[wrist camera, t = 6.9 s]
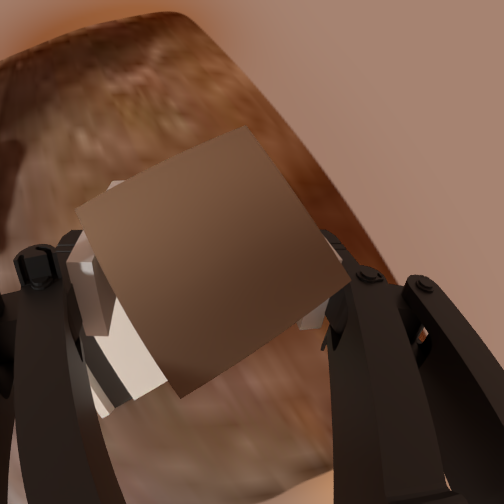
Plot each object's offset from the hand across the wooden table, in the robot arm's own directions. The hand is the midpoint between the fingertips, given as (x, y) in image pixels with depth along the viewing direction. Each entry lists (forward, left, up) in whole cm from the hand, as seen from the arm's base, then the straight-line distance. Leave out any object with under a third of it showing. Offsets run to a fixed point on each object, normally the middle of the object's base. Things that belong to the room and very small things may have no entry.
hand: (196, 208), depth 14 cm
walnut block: (+3, -2, -3) cm, 5 cm away
